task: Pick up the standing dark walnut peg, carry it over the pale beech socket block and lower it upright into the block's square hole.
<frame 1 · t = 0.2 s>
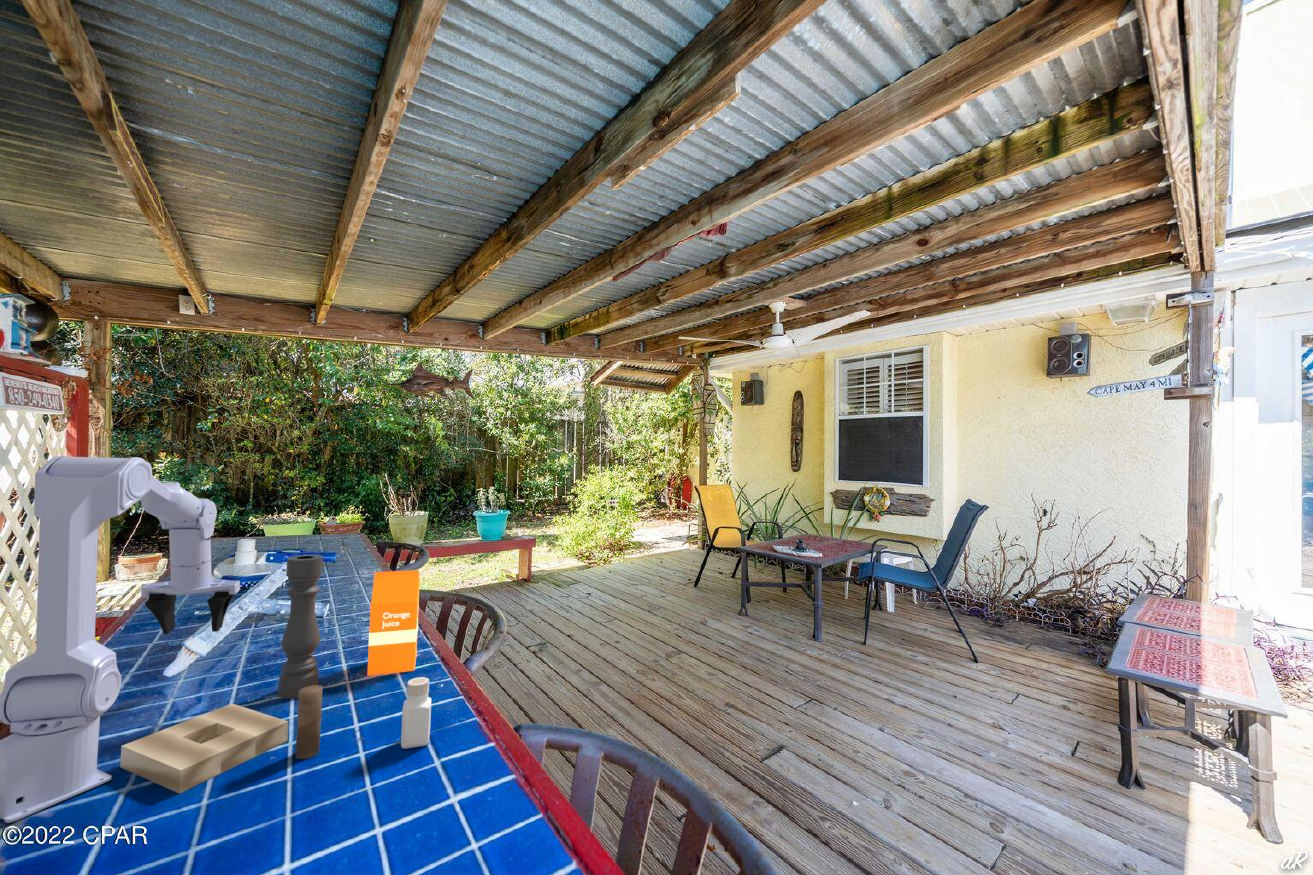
hand: (193, 630, 100), 11 cm above the table, tool pointing down, fingers open, 7 cm apart
walnut peg: (307, 753, 79), on the table
orange juice: (392, 666, 112), on the table
pepper shaker: (415, 743, 83), on the table
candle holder: (298, 692, 99), on the table
socket block: (208, 753, 79), on the table
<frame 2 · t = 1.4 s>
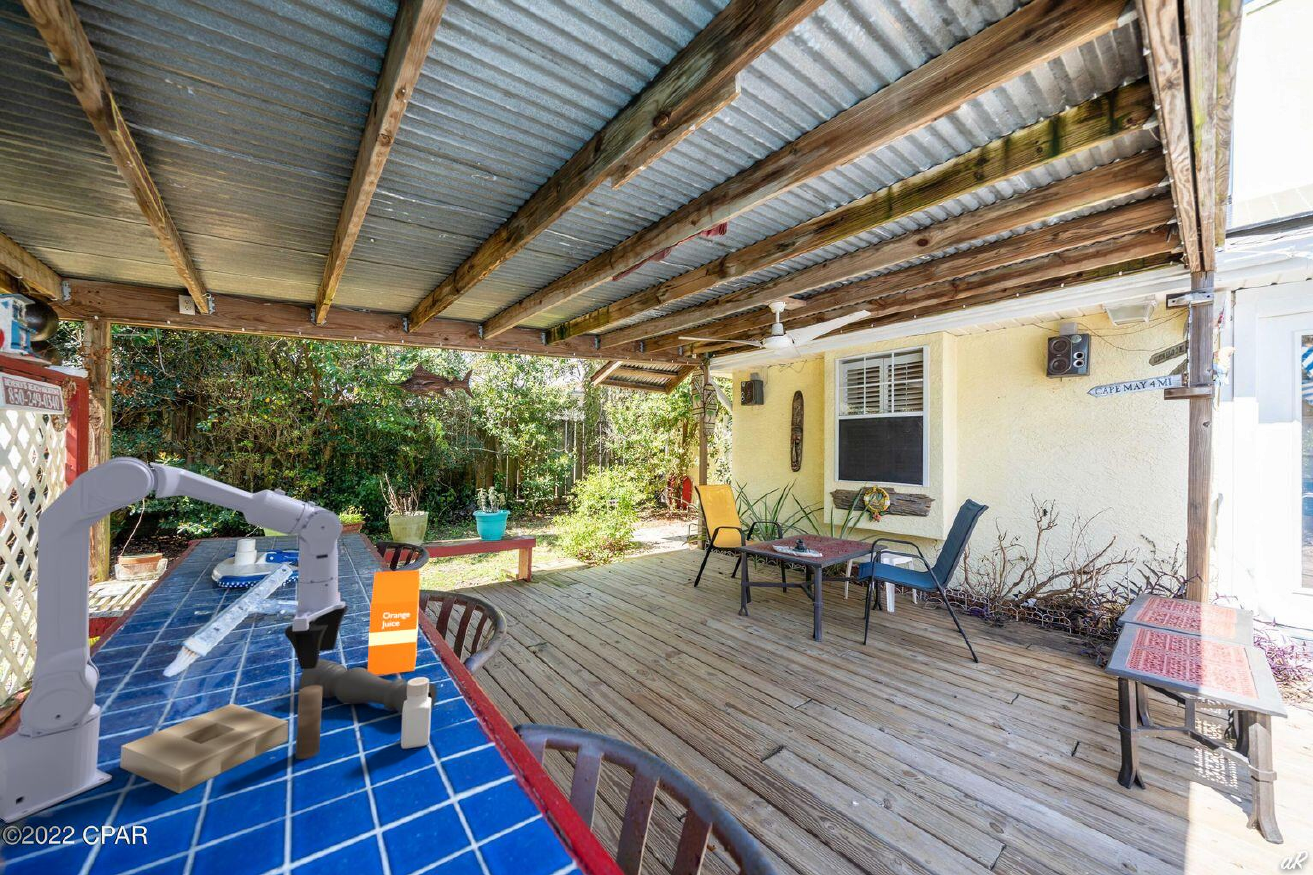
hand: (318, 658, 90), 10 cm above the table, tool pointing down, fingers open, 7 cm apart
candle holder: (313, 676, 98), point 3 cm above the table
everything else where it was.
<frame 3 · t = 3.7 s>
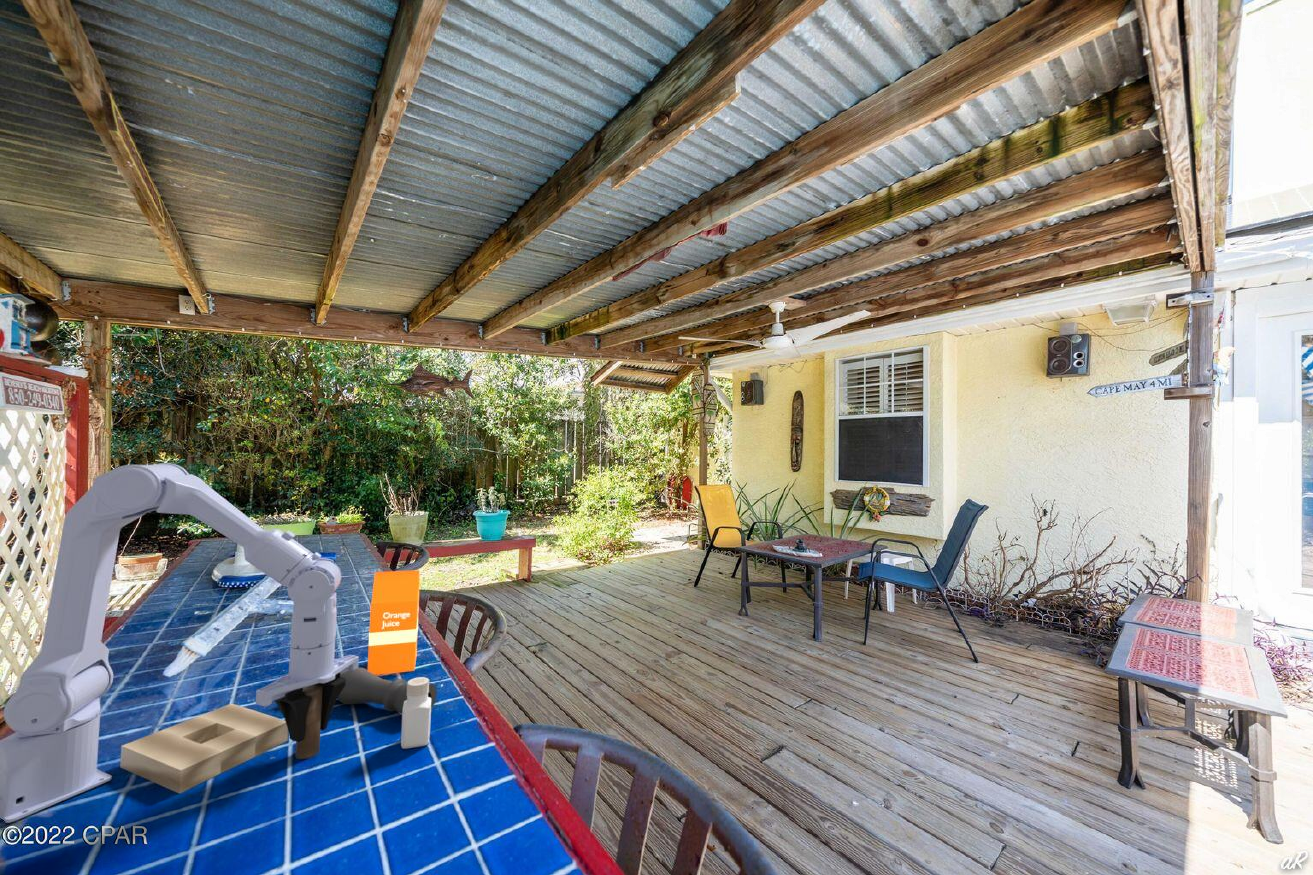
hand: (308, 733, 79), 3 cm above the table, tool pointing down, fingers closed on walnut peg, 3 cm apart
walnut peg: (307, 753, 79), on the table, touching gripper
everything else where it was.
when the fingers open (4 cm above the table, at t = 8.4 s): walnut peg drops 2 cm, resting in socket block.
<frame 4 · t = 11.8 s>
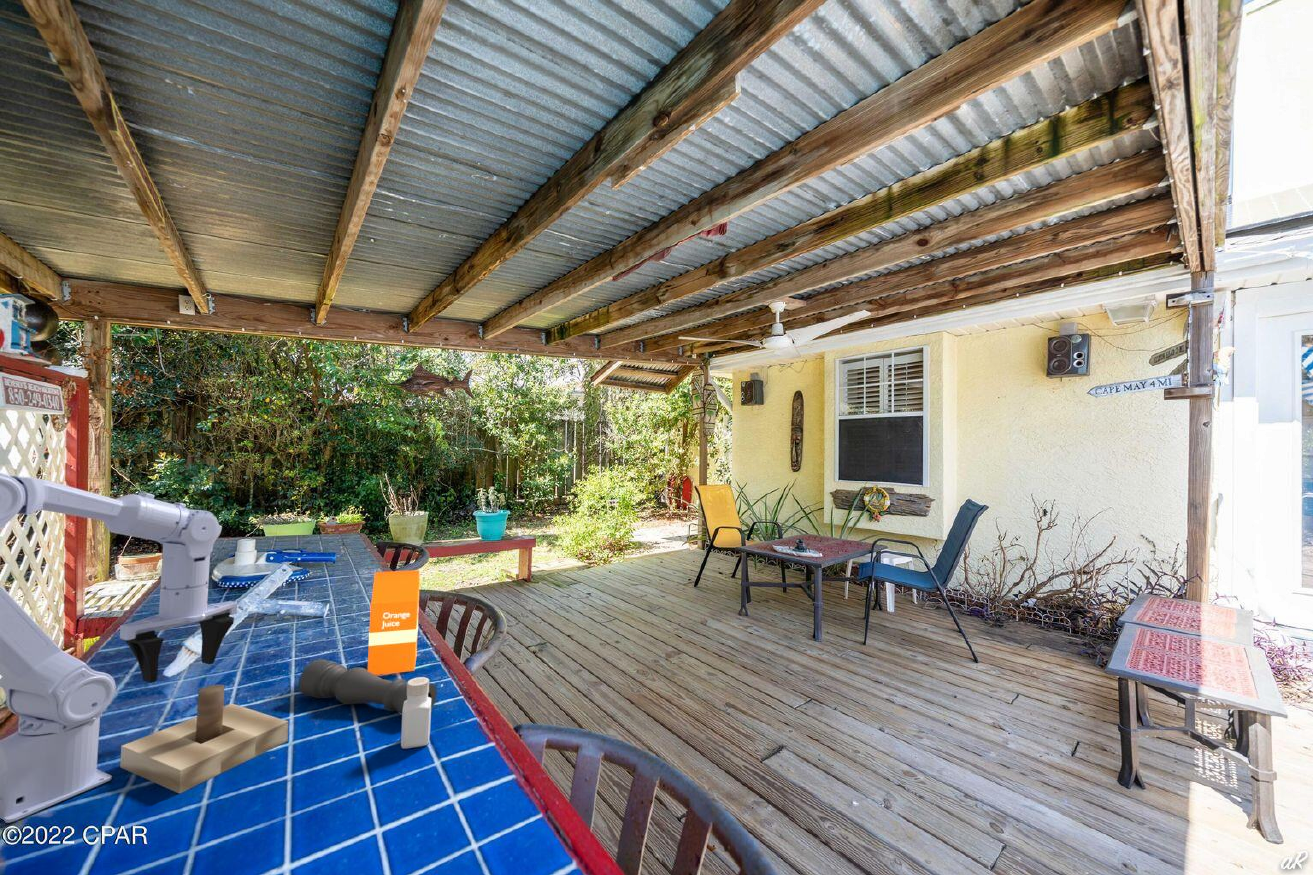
hand: (180, 671, 83), 10 cm above the table, tool pointing down, fingers open, 7 cm apart
walnut peg: (207, 753, 79), resting in socket block
everything else where it was.
at the end: walnut peg 0.0 cm off-centre on the socket block, point 0.0 cm above the socket block's base; walnut peg tilted 0°; the gripper is holding nothing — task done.
